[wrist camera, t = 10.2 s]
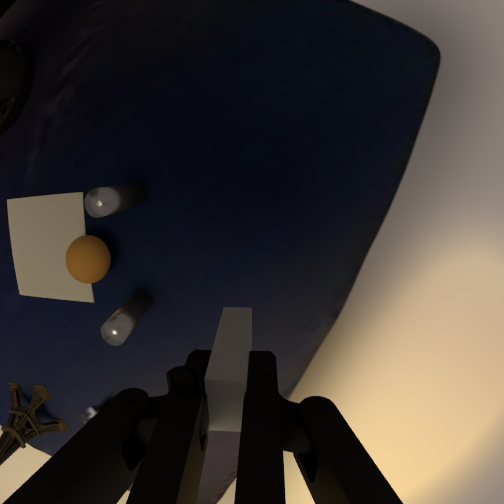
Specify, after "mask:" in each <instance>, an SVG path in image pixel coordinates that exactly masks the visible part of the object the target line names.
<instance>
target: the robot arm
mask: <svg viewBox="0 0 504 504" xmlns="http://www.w3.org/2000/svg"><path fill="white" fill-rule="evenodd" d="M15 1H16V0H0V18H1V17H2V16H3V15H4V14H5V12H6V11H7V10H8V9H9V8H10V7H11V5H12V4H13V3H14V2H15ZM32 78H33V57H32V54H31V51H30V50H29V48H28V47H27V46H26V45H24V44H22V43H20V42H18V41H15V40H10V39H7V40H0V134H2V133H3V132H5V131H6V130H7V129H8V128H9V127H10V126H11V124H12V123H13V122H14V121H15V119H16V118H17V116H18V115H19V113H20V111H21V109H22V108H23V106H24V103H25V101H26V99H27V96H28V93H29V90H30V87H31V83H32ZM251 343H252V308H232V307H224V309H223V312H222V316H221V320H220V323H219V327H218V331H217V334H216V338H215V342H214V345H213V349H212V350H197V349H195V350H194V351H193V352H192V353H190V354H189V356H188V358H187V361H186V363H185V366H178V367H175V368H173V369H171V370H169V371H168V372H167V374H166V376H167V382H168V388H169V392H168V394H166V395H163V396H157V397H149V396H148V394H147V393H146V392H145V391H144V390H142V389H138V388H128V389H125V390H122V391H121V392H119V393H118V394H117V395H116V396H115V397H114V398H113V399H112V400H111V401H110V402H109V403H108V404H107V405H106V406H104V407H103V408H102V409H101V410H100V411H99V412H98V413H97V414H96V415H95V416H94V417H93V418H92V419H91V420H90V421H89V422H88V423H87V424H86V425H85V426H84V427H83V428H82V429H81V430H79V431H78V432H77V433H76V434H75V435H74V436H73V437H72V438H71V439H70V440H69V441H68V442H67V443H66V444H65V445H64V446H63V447H62V448H61V449H60V450H59V451H58V452H56V453H55V454H54V455H53V456H52V457H51V458H50V459H49V460H48V461H47V462H46V463H45V464H44V465H43V466H42V467H41V468H40V469H39V470H38V471H36V472H35V473H34V474H33V475H32V476H31V477H30V478H29V479H28V480H27V481H26V482H25V483H24V484H23V485H22V486H21V487H20V488H19V489H17V490H16V491H15V492H14V493H13V494H12V495H11V496H10V497H9V498H8V499H7V500H6V501H5V502H4V503H3V504H117V502H118V501H119V500H120V498H121V497H122V496H123V494H124V493H125V492H126V491H127V489H128V488H129V487H130V485H131V484H132V483H133V481H134V483H133V486H132V488H131V491H130V494H129V497H128V500H127V502H126V504H196V500H197V495H198V489H199V484H200V479H201V473H202V468H203V463H204V458H205V452H206V447H207V442H208V434H207V429H208V424H209V430H216V431H234V432H241V435H240V446H239V457H238V469H237V480H236V492H235V502H234V504H286V501H285V481H284V462H283V450H284V451H288V452H293V455H294V458H295V460H296V462H297V465H298V467H299V469H300V471H301V474H302V476H303V478H304V480H305V482H306V485H307V487H308V489H309V491H310V493H311V495H312V498H313V500H314V502H315V504H403V503H402V501H401V500H400V499H399V497H398V496H397V494H396V493H395V491H394V490H393V489H392V487H391V486H390V484H389V483H388V481H387V480H386V479H385V477H384V476H383V474H382V473H381V471H380V470H379V468H378V467H377V466H376V464H375V463H374V461H373V460H372V458H371V457H370V455H369V454H368V453H367V451H366V450H365V448H364V447H363V445H362V444H361V442H360V441H359V439H358V438H357V437H356V435H355V434H354V432H353V431H352V429H351V428H350V427H349V425H348V423H347V422H346V420H345V419H344V418H343V416H342V415H341V413H340V412H339V410H338V409H337V407H336V406H335V404H334V403H333V402H332V401H331V400H330V399H327V398H325V397H321V396H311V397H308V398H305V399H304V400H303V401H301V402H300V403H295V402H291V401H288V400H286V399H284V398H283V397H282V396H281V395H280V394H279V392H278V383H277V367H276V357H275V356H274V354H273V353H272V352H271V351H251Z"/></svg>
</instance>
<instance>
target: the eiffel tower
mask: <svg viewBox="0 0 504 504" xmlns="http://www.w3.org/2000/svg"><path fill="white" fill-rule="evenodd" d="M9 384H10V386H11V389H10V398H11V410H9V412H10V416H9V420H8V422H7V424H6V426H2V428H1V430H2V431H3V433H2V435H1V437H0V465H1V464H2V463H3V462H4V461H6V459H8V458H9V457H10V456H11V455H12V454H13V453H14V452H15V451H16V450H17V449H18V448H19V447H21V448H25V447H26V445H25V443H26V442H28V441H29V440H30V439H32V438H34V437H36V436H39V437H41V434H43V433H52V432H59V431H63V430H65V431H70V429H69V428H68V426H67V424H66V423H65V421H64V420H62V419H55V418H53V419H52V421H53V422H49V423H40V421H39V420H38V418H37V416H36V415H35V410H36V409H37V408H38V407H39V406H40V405H41V404H42V403H43V402H44V401H45V400H46V399H47V400H48V399H51V397H50V395H49V393H48V392H47V390H46V388H45V386H44V385H34V391H33V395H32V398H31V402H30V405H29V406H28V407H21V396H23V395H24V394H23V392H22V390H21V389H20V387H19V385H18V383H15V382H9ZM15 421H16V424H15V425H14V423H15ZM13 425H14V426H13ZM25 433H27V434H25ZM24 434H25V435H24ZM23 435H24V436H23Z"/></svg>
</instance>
